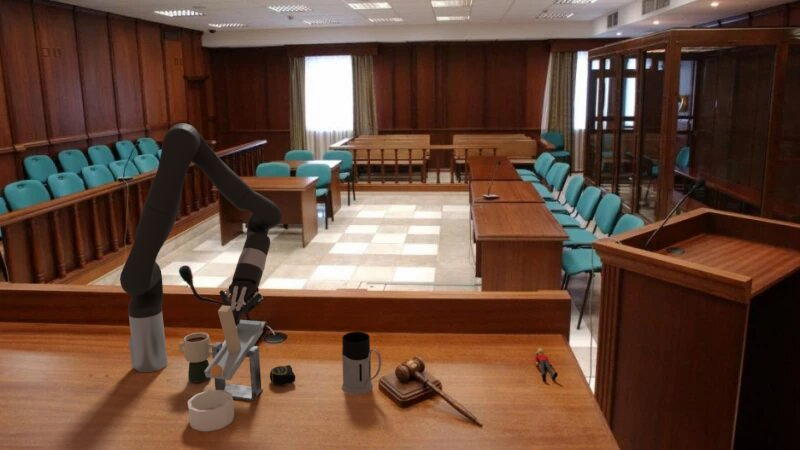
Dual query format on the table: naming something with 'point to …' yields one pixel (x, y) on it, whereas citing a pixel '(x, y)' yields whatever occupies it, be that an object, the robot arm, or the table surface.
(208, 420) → the cup
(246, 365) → the table surface
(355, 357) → the glass holder
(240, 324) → the tipping board
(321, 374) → the table surface
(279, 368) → the tape measure
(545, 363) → the person figure
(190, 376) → the character mug
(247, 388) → the stand
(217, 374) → the ball
